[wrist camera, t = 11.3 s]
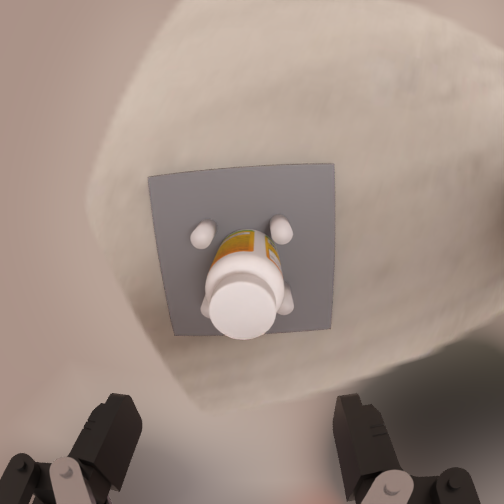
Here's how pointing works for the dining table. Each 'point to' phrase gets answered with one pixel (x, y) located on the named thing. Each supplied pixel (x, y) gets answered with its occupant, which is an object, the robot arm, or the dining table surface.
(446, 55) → the dining table surface
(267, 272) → the supplement bottle
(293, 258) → the pin holder
